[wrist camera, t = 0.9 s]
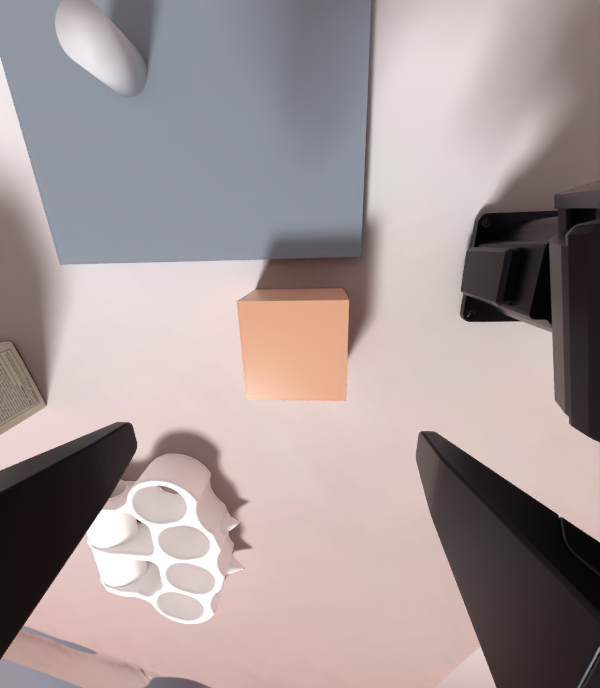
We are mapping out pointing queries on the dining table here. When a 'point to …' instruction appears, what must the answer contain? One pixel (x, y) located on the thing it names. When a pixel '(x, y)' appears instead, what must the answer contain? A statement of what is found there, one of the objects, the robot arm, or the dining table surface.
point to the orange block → (295, 343)
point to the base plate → (193, 125)
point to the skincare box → (16, 389)
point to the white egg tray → (166, 540)
